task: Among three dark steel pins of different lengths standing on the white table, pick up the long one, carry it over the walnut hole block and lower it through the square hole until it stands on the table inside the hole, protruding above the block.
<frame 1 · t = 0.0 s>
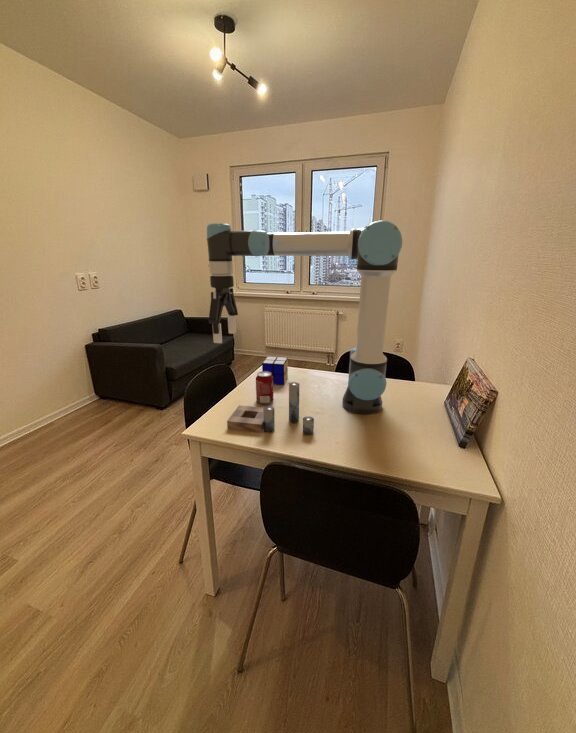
hand: (225, 337, 113), 28 cm above the table, fingers open, 13 cm apart
soda can: (265, 402, 129), on the table
puzzle cube: (275, 380, 151), on the table
short pin: (308, 432, 107), on the table
hole block: (249, 421, 113), on the table
long pin: (293, 420, 114), on the table
medium pin: (269, 430, 108), on the table
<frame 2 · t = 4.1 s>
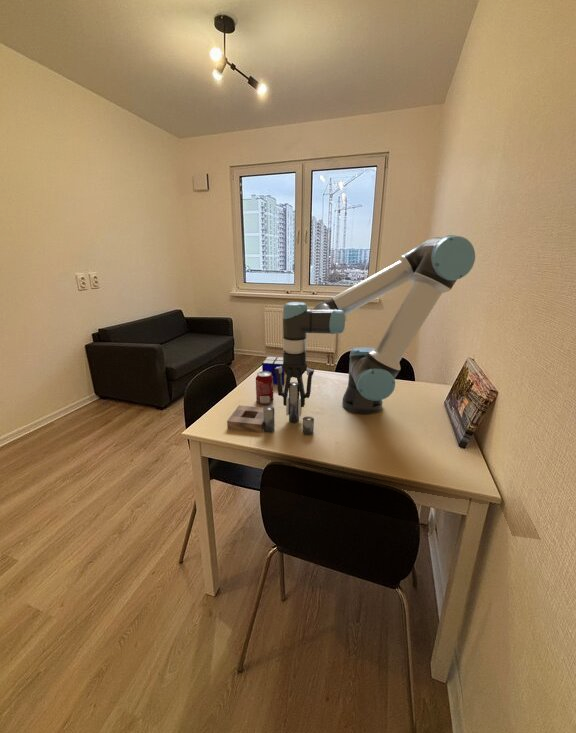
hand: (294, 414, 114), 3 cm above the table, fingers closed on long pin, 3 cm apart
long pin: (293, 420, 114), on the table, touching gripper
everything else where it was.
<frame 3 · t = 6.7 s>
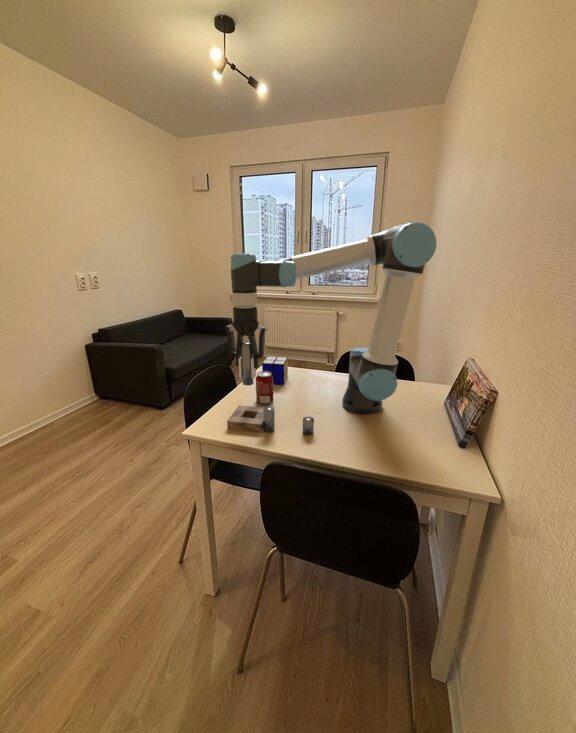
hand: (247, 376, 108), 17 cm above the table, fingers closed on long pin, 3 cm apart
long pin: (248, 383, 109), point 15 cm above the table, touching gripper
everything else where it was.
when the fingers open (5 cm above the table, at t = 9.4 s): long pin drops 1 cm, on the table.
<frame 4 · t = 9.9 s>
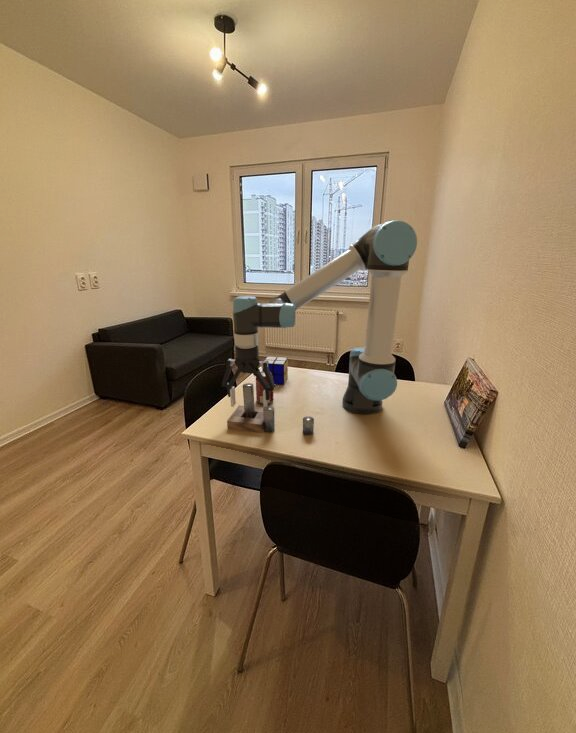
hand: (249, 406, 111), 6 cm above the table, fingers open, 11 cm apart
long pin: (250, 421, 113), on the table
everything else where it was.
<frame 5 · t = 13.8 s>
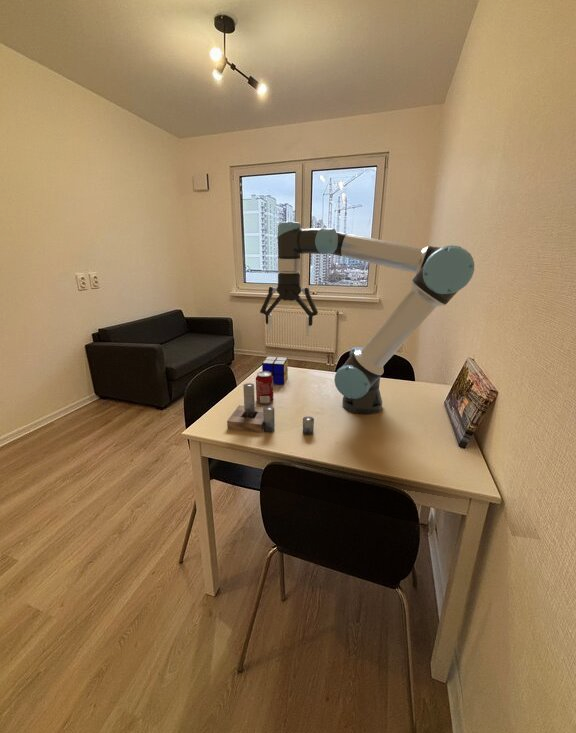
hand: (288, 333, 116), 29 cm above the table, fingers open, 13 cm apart
nothing on the table moved.
at the end: long pin 0.1 cm off-centre on the hole block, point 0.0 cm above the hole block's base; long pin tilted 0°; the gripper is holding nothing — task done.
